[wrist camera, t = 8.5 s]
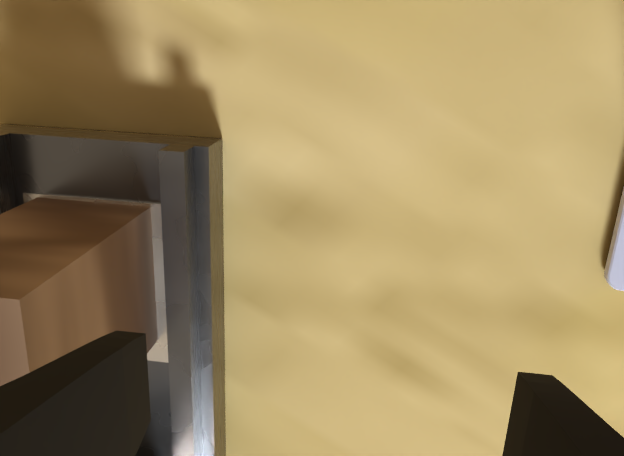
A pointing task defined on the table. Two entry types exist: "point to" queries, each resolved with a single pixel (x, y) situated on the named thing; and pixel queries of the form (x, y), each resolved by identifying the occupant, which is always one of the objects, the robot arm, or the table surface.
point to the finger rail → (166, 253)
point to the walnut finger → (72, 279)
